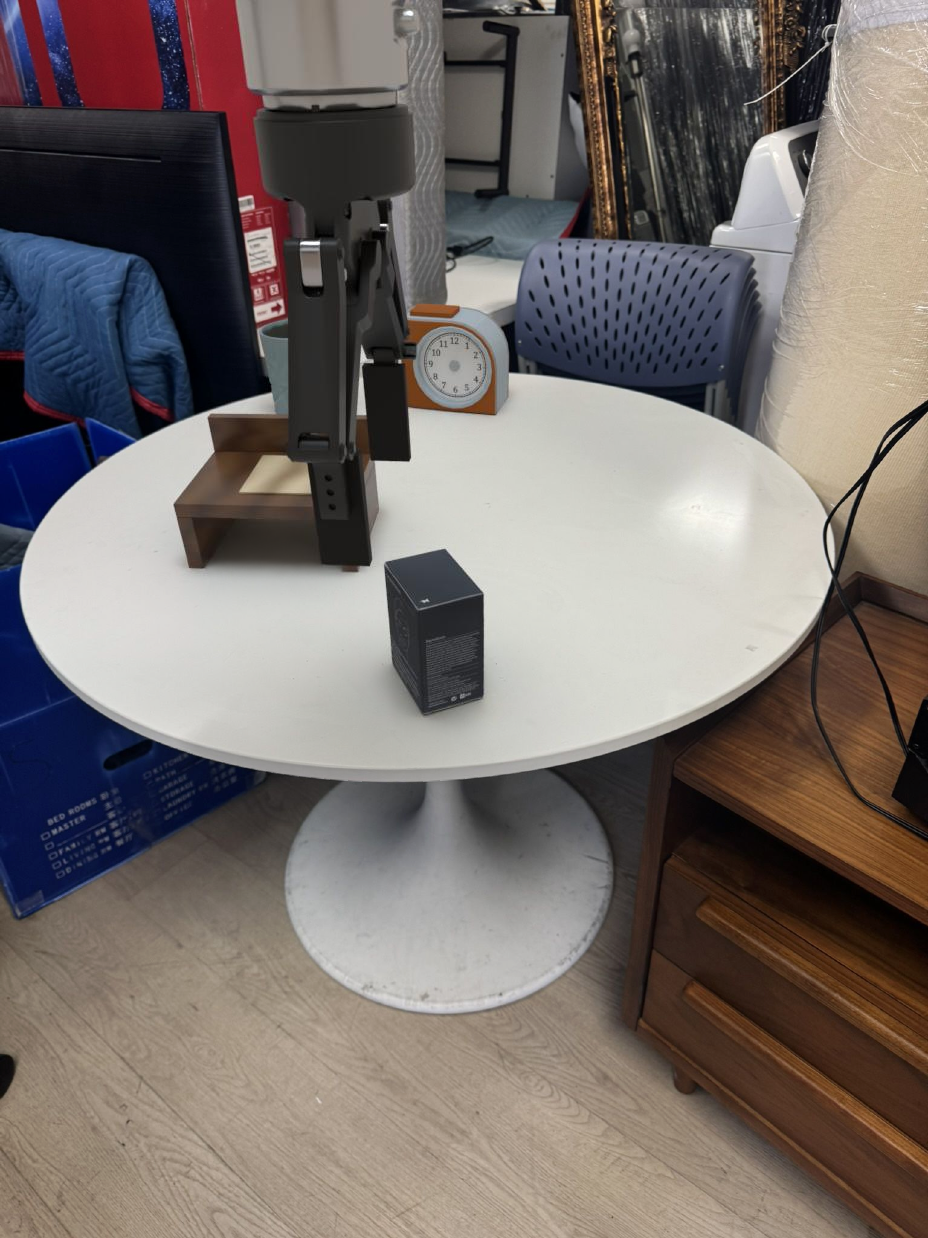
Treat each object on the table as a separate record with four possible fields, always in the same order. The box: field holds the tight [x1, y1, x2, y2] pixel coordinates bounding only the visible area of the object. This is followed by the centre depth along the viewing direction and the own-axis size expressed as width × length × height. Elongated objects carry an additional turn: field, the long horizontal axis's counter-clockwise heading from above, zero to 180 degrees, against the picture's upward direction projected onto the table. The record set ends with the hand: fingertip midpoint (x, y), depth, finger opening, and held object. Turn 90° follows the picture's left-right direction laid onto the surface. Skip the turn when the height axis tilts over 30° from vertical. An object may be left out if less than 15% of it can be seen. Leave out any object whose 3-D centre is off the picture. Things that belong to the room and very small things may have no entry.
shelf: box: [173, 413, 380, 573], centre depth 88 cm, size 18×14×12 cm
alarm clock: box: [400, 303, 510, 416], centre depth 120 cm, size 15×8×14 cm, turn 74°
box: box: [383, 548, 485, 715], centre depth 67 cm, size 8×6×11 cm
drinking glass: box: [258, 319, 288, 414], centre depth 119 cm, size 10×10×12 cm
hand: (371, 505), depth 51 cm, fingers open, 13 cm apart
